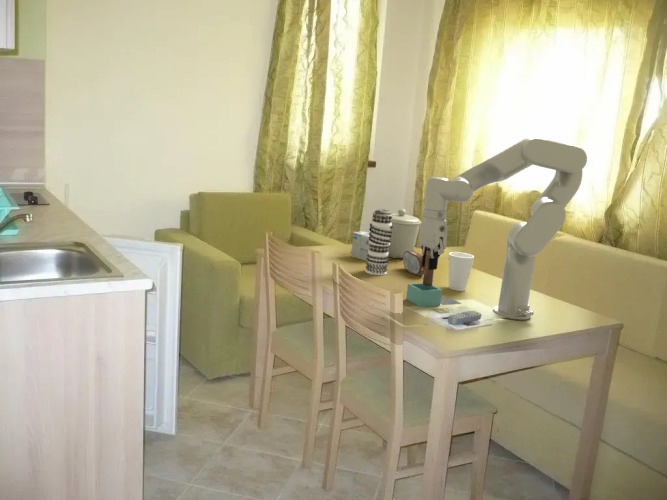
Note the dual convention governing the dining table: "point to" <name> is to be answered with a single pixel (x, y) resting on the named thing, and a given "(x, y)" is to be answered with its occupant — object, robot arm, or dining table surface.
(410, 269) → the tin
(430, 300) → the teal open box
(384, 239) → the decorative candle
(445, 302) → the coaster
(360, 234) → the light bulb box
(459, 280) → the foam cup
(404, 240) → the canister
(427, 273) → the dowel
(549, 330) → the dining table surface
